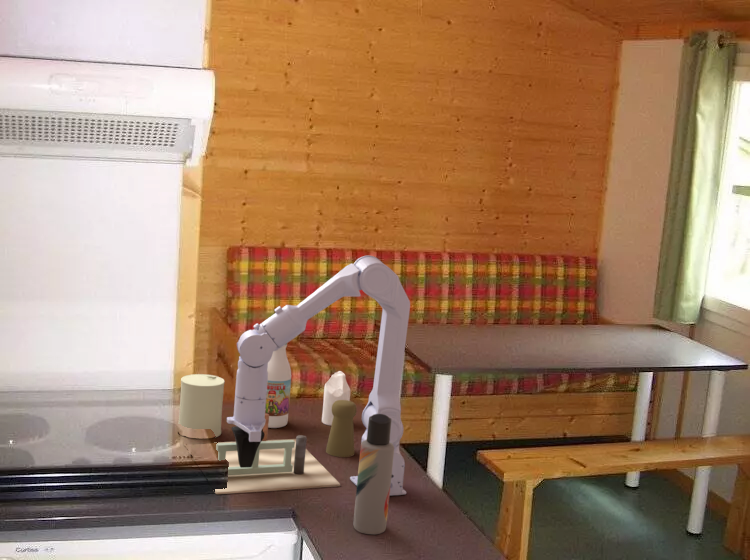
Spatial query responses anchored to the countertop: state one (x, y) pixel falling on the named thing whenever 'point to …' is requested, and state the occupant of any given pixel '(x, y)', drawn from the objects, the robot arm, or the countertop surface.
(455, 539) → the countertop surface
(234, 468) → the bar
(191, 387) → the can
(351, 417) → the cork
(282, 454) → the base
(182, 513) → the countertop surface
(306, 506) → the countertop surface
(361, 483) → the lotion bottle
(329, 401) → the white chalk piece
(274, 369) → the milk bottle
